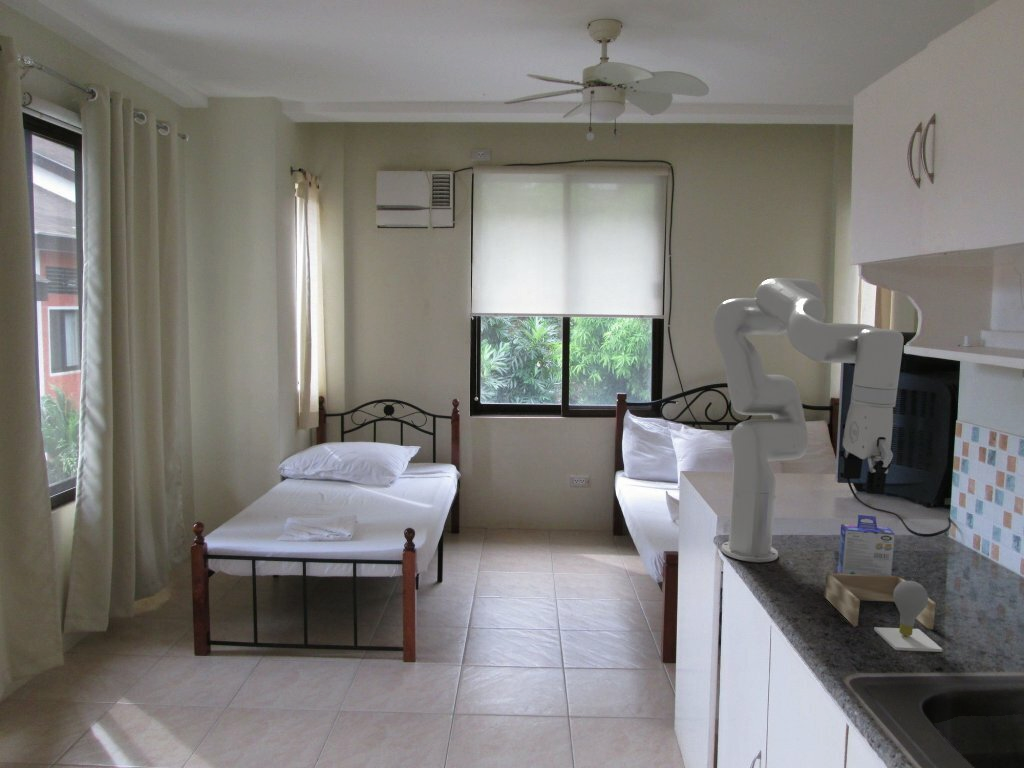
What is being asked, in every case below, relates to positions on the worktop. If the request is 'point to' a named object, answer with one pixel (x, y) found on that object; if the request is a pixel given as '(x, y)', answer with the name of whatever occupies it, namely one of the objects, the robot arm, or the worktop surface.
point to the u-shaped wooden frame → (867, 594)
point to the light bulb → (909, 604)
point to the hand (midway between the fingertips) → (862, 485)
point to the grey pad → (907, 640)
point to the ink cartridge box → (866, 548)
